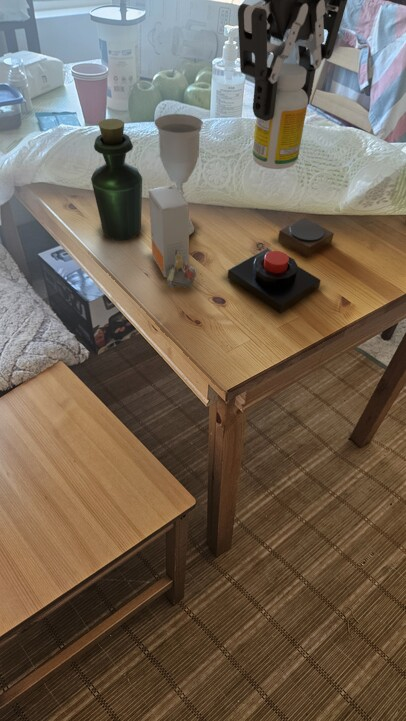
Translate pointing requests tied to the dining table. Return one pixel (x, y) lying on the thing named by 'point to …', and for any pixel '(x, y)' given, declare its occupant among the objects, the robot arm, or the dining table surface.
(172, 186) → the cosmetic box
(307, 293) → the button housing
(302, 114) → the supplement bottle
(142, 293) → the dining table surface
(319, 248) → the stand
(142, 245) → the dining table surface
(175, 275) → the figurine
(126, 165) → the potion bottle
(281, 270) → the button
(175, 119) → the chalice
